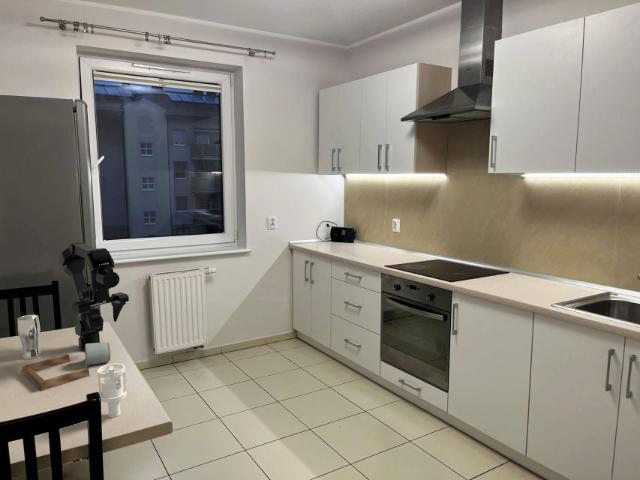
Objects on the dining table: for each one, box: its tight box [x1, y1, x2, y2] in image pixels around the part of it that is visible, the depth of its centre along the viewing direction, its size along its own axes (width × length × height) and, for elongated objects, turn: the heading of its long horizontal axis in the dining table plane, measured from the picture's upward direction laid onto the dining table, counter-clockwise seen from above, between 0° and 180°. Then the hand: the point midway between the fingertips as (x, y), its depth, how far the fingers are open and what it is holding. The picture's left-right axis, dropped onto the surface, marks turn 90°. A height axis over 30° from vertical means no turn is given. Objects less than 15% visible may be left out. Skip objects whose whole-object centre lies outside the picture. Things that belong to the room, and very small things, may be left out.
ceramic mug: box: [84, 341, 112, 367], centre depth 169 cm, size 11×8×8 cm
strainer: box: [96, 363, 128, 419], centre depth 132 cm, size 7×7×15 cm
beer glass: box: [17, 314, 42, 360], centre depth 174 cm, size 7×7×15 cm
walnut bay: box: [21, 353, 90, 392], centre depth 159 cm, size 14×19×2 cm
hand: (103, 324), depth 171 cm, fingers open, 9 cm apart
